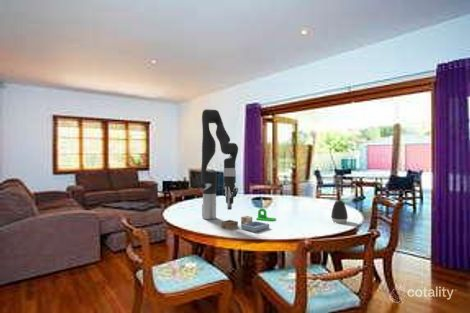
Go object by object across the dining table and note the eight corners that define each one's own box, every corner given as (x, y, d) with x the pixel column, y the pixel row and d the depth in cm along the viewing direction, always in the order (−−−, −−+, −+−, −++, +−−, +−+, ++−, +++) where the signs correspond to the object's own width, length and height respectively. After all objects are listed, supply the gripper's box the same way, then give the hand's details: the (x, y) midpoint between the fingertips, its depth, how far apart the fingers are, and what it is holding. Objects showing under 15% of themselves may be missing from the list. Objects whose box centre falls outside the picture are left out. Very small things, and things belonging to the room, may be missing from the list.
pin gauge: (226, 209, 180) (226, 189, 180) (229, 208, 182) (229, 189, 182) (229, 209, 178) (229, 190, 179) (232, 209, 180) (232, 189, 180)
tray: (241, 229, 177) (241, 224, 177) (255, 225, 186) (255, 221, 186) (255, 232, 169) (255, 227, 169) (269, 229, 178) (269, 224, 178)
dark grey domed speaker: (337, 225, 188) (337, 201, 187) (328, 221, 198) (328, 199, 198) (351, 224, 190) (351, 200, 190) (341, 221, 200) (341, 198, 200)
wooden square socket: (221, 228, 180) (221, 221, 180) (229, 226, 185) (229, 219, 185) (229, 230, 175) (229, 223, 175) (237, 228, 180) (237, 221, 180)
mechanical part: (256, 221, 200) (256, 209, 200) (258, 219, 206) (258, 208, 206) (273, 222, 196) (273, 210, 196) (275, 220, 202) (275, 209, 202)
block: (241, 226, 185) (241, 216, 185) (246, 225, 189) (246, 215, 189) (246, 227, 182) (246, 217, 182) (252, 226, 185) (252, 216, 185)
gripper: (217, 175, 183) (217, 203, 183) (233, 176, 173) (233, 205, 173) (226, 174, 188) (226, 201, 188) (242, 175, 178) (242, 204, 178)
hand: (229, 203), depth 180 cm, fingers closed on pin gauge, 2 cm apart
